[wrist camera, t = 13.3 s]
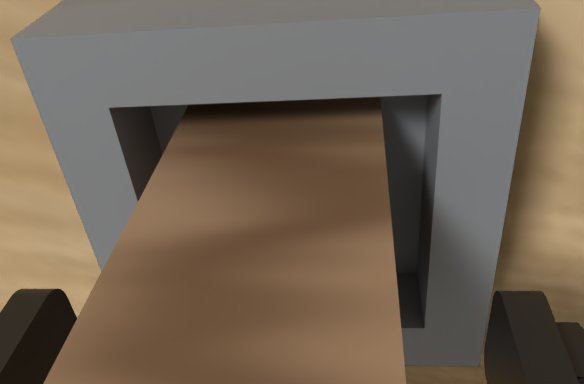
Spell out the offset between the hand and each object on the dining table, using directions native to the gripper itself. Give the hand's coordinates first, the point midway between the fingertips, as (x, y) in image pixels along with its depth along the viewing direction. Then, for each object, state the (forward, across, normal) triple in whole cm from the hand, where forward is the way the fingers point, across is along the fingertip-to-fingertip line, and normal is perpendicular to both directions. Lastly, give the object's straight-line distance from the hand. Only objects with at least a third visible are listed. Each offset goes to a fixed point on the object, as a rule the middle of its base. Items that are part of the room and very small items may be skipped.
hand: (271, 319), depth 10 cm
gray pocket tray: (+5, 0, 0) cm, 5 cm away
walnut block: (+5, 0, 0) cm, 5 cm away
